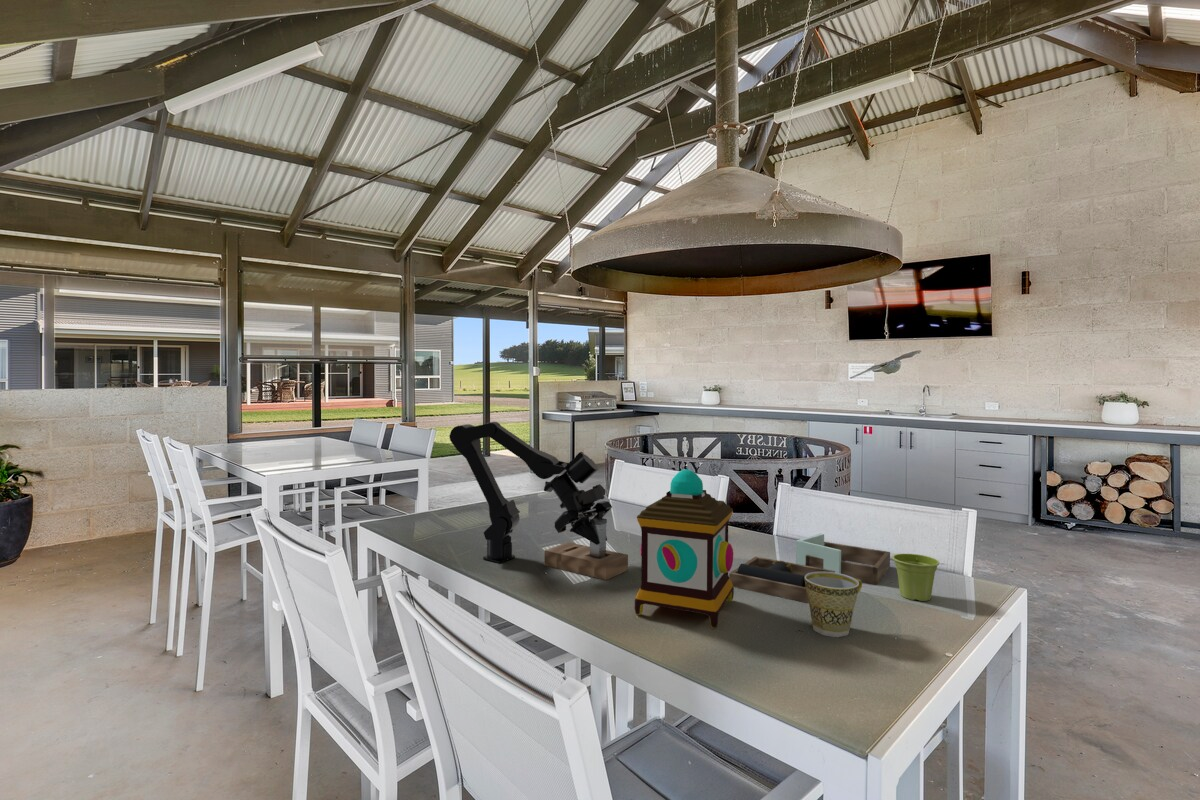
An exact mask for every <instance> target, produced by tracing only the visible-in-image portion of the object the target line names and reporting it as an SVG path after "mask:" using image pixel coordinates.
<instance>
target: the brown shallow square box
mask: <svg viewBox="0 0 1200 800" xmlns="http://www.w3.org/2000/svg"><path fill="white" fill-rule="evenodd" d="M823 546H826V547H830V548H834V549H838V550H841V574H844V575H847V576H850V577H852V578H858V579H860V580H861V582H862V583H867V584H870V585H871V584H872V585H876V586H877V585H878V584H879V583H880V582H881V580H882V579H883V578H884V576H885V575H886V573H887V572H888V570H889V569H890V568H891V552H890V551H887V550H879V549H873V548H867V547H860V546H854V545H847V544H842V543H834V542H829V541H828V542H827V541H824V545H823ZM823 561H824V559H822V558H818V557H814V556H810V555H806V566H811V567H816V568H822V569H823Z"/></svg>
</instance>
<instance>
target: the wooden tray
mask: <svg viewBox="0 0 1200 800" xmlns="http://www.w3.org/2000/svg"><path fill="white" fill-rule="evenodd" d="M774 561H776V559H771V558H765V557H761V556H753V557H752V558H751V559H750V560H748V561H746V562H745V563H744V564H747V565H752V566H758V567H763V568H769V567H770V566H772V563H773V562H774ZM777 561H779V560H777ZM787 562H788V563H790V562H789V561H787ZM791 563H792V571H793V573H794V574H799V575H806V574H808V573H811V572H834V573H835V571H833V570H827V569H822V568H816V567H811V566H805V565H800V564H796V563H793V562H791ZM738 568H739V566H738V567H737V568H735V569H734V570H732V571H731V572H728V575H729V578H730V580H731V582H732V584H733V587H734V588H738V589H742V590H743V589H744V590H747V591H752V592H755V593H761V594H765V595H771V596H774V597H779V598H784V599H789V600H793V601H798V602H802V603H806V604H809V600H808V597H807V593H806V587H801V586H796V585H791V584H787V583H782V582H777V581H772V580H767V579H762V578H757V577H752V576H747V575H742V574H737V572H738Z"/></svg>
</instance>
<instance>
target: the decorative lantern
mask: <svg viewBox="0 0 1200 800" xmlns="http://www.w3.org/2000/svg"><path fill="white" fill-rule="evenodd" d="M733 512H734V510H733V508H732V507H731V506H730V505H729V504H726V502H725V501H724V500H718V499H717V500H716V498H715V497H713V496H711V494H709V493H707V490H706V489H704V484H703V480H702V478H700V477H699V475H698V474H697V473H696V472H694V471H693V470H691V469H687V468H686V469H685V468H684V469H682V470H680V471H678V472H677V473H676V474H675V475H674V476H673V478H672V479H671V481H670V490H669V491H667V492H666V495H664V496H662V497H661V498H660V499H658V500H656V501H654V502H653V503H651V504H649V505H648V506H646V507H645V509H643V510H642V511H640V513H639V514H637V516H636V521H637V522H638V524H639V525H638V526H639V527H640V529H641V531H640V532H641V544H640V557H641V563H640V564H641V565H640V567H641V574H640V579H641V582H640V587H639V589H638V592H637V594H636V596H635V598H634V612H635V615H637V616H641V615H642V613H643V610H644V605H650V606H656V607H662V608H668V609H673V610H679V611H680V610H681V611H685V612H686V611H687V612H690V613H691V612H692V613H699V614H704V615H706V616H708V618H709V622H710V623H709V625H710V627H711V628H712V629H716V628H717V626H718V623H719V622H718V621H719V614H720V611H721V609H723V607H724V605H725V604H726V602H728V603H729V602H732V601H733V599H734V594H735V593H734V592H735V589H734V588H735V587H733V584H732V582H731V580H730V578H729V573H730V571H731V569H732V567H733V562H734V549H733V546H732V544H731V543H729V521H730V519H731V517H732V515H733Z"/></svg>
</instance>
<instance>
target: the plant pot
mask: <svg viewBox="0 0 1200 800" xmlns="http://www.w3.org/2000/svg"><path fill="white" fill-rule="evenodd" d="M892 559H893V561H894V566H895V567H896V572H897V573H896V574H897V580H898V586H899V587H898V589H899V593H900V595H901V597H903V598H905V599H907V600H911V601H914V600H918V601H920V602H926V601H930V600H932V599H931V598H932V592H933V587H934V580H935V575H936V571H937V570H938V566H939V565H940V561H939V560H938V559H937V558H934V557H931V556H927V555H923V554H918V553H917V554H916V553H896V554H893V555H892Z"/></svg>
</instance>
